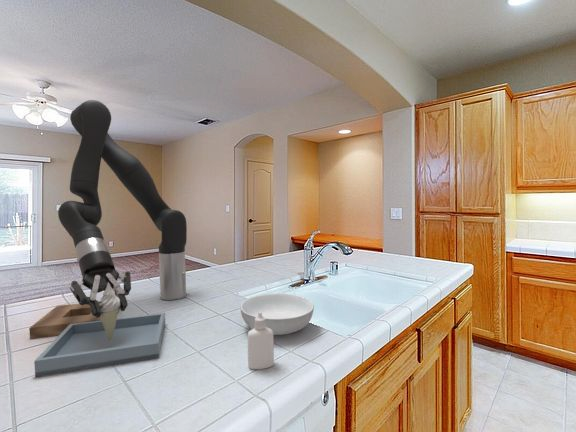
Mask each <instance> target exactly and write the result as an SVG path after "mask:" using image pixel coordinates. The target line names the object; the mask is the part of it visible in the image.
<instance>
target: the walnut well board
mask: <svg viewBox="0 0 576 432" xmlns="http://www.w3.org/2000/svg"><path fill="white" fill-rule="evenodd" d="M100 320H101V318H100V317H98V318H96V316H93V315H92V312H91V308H90V306H89V305H88V304H84V305H80V304H79V303H72V304H61V305H56V306H55V307H54V308H53V309H51V310H50V311H48V313H46V314H45V315H44V316H42V317H41V318H40V319H39V320H38V321H36V322H35V323H33V325H31V326H30V327H29V339H30V340H32V339H40V338H47V337H55V336H56V337H58V336H59V335H60V334H61V333H62V332H63V331H64V330H65V329H66V328H67V327H68V326H69V325H70V324H74V323H83V322H91V321H100Z"/></svg>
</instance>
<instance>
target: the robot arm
mask: <svg viewBox="0 0 576 432" xmlns="http://www.w3.org/2000/svg"><path fill="white" fill-rule="evenodd" d="M69 118H70V123H71V125H72V126H73V129H75V131H76V132H77V133H78V134H79V135H80V136H81V140H80V143H79V148H78V150H77V153H76V155H75V157H74V160H73V164H72V167H71V172H70V174H71V175H70V180H69V191H70V192H71V193H72V194H73V195H75V196H77V197H79V198H81V200H82V201H83V202H81V201H76V200H66V201H63V203H62V204H61V205H60V206H59V209H58V212H57V214H58V220H59V222H60V224H61V226H62V227H63V228H64V229H65V231H66V232H67V234H68V235H69V236H70V238H71V239H72V241H73V244H74V248H75V255H76V256H75V257H76V261H77V263H78V266H79V269H80V272H81V276H82V279H81V280H78V281H77V280H72V281H71V282H70V283H71V284H70V287H69V290H70V291H71V293H72V294H73V296H74V298H75V300H76V301H77V303H78V304H80V305H84V304H88V305H89V306H90V308H91V312H92V315H93V316H96V318H98V317H100V316H101V310H100V307H99V303H98V302H99V301H98V299H97V294H98V293H101V292H102V293H103V292H104V291H105V289H106V287H107V284H108V282H109V284H110V286H111V288H112V289H113V290H114V292H115V296H117V297H118V298H119V299H120V309H119V310H120V312H125V310H126V309H127V307H128V300H127V297H126V296H128V295H130V292H131V290H132V282H131V272H130V271H125V273H119V272H118V271H117V270H116V268H115V264H114V262H113V258H112V256H111V253H110V249H109V247H108V245H107V244H106V242H105V239H104V235H103V233H102V230H101V228H100V227H99V226H98V225H99V223H100V222H101V220H102V217H103V212H102V207H101V201H100V196H99V192H98V191H99V190H98V189H99V179H100V169H101V163H102V160H103V161H104V162H105V163H106V165H107V166H108V167H109V169H110V170H111V171H112V172H113V173H114V175H115V176H116V177H117V179H118V180H119V181H120V182H121V184H122V185H123V186H124V187H125V188H126V190H127V191H128V192H129V193H130V194H131V195H132V196H133V198H135V200H136V201H137V202H138V203H139V204H140V205H141V206H142V207H143V208H144V210H145V212H146V213H147V214H148V216H149V218H150V220H151V221H152V222H153V225H154V226H155V228H156V229H157V230H158V231H160V232H161V243H160V244H159V245H158V258H159V259H158V262H159V263H158V264H159V265H158V266H159V291H160V292H159V294H160V300H163V301H174V300H179V299H180V300H181V299H182V298H186V297H187V276H186V274H187V273H186V271H187V270H186V249H185V248H186V245H187V239H188V238H187V234H188V233H187V231H188V230H187V228H188V227H187V226H188V224H187V219H186V215H185V214H184V213H183V212H181V211H180V210H177V209H172V208H171V207H170V206H169V205H168V204H167V203H166V201H165V200H164V199H163V198H162V197H161V195H160V193H159V191H158V189H157V187H156V186H157V185H156V184H155V181H154V179H153V177H152V175H151V174H150V172H149V171H148V170H147V168H146V167H145V166H144V164H143V163H142V162H141V160H139V159H138V157H136V156H134V155H133V154H132V153H130V152H129V151H127V150H126V149H125V148H123V147H121V146H120V145H119V144H117V143H116V141H115V140H114V139H113V138H112V137H111V135H110V133H108V132H109V130H110V126H111V123H112V114H111V110H109V108H108V107H107V106H106V104H104V103H103V102H101V101H99V100H96V99H95V100H94V99H89V100H85V101H84V102H81V104H79V105H77V107H76V108H74V109H73V110H72V112H71V113H70V117H69ZM118 280H120V281H121V282H122V283H123V288H122V287H121V284H120V282H118ZM83 286H84V287H86V288H87V289H89V290H90V293H89V296H87V294H86V293H85V292H84V291H83Z"/></svg>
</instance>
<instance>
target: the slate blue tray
mask: <svg viewBox="0 0 576 432" xmlns="http://www.w3.org/2000/svg"><path fill="white" fill-rule="evenodd" d="M165 327H166V313H165V312H162V313H161V312H160V313H152V314H145V315H144V314H143V315H136V316H135V315H134V316H126V317H120V318H119V317H117V320H116V325H115V328H114V332H113V336H112V340H110V341H109V338H108V336H107V333H106V331H105V328H104V326H103V323H102V321H101V320H100V321H91V322H83V323H74V324H70V325H69V326H68V327H67V328H66V329H65V330H64V331H63V332H62V333H61V334H60V335H57V336H56V338H55V339H54V340H53V341H52V342H51V343H50V344H49V345H48V346H47V348H45V350H43V352H41V353H40V354H39V356H38V357H36V359H35V360H34V362H33V363H34V376H35V377H34V378H38V377H39V378H40V377H45V376H52V375H57V374H64V373H70V372H71V373H72V372H76V371H83V370H89V369H95V368H104V367H108V366H116V365H121V364H127V363H133V362H139V361H140V362H141V361H148V360H152V359H159V358H160V354H161V347H162V343H163V340H164V339H163V338H164V333H165Z"/></svg>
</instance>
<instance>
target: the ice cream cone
mask: <svg viewBox="0 0 576 432" xmlns="http://www.w3.org/2000/svg"><path fill="white" fill-rule="evenodd" d="M98 303H99V307H100V310H101V316H100V318H101V321H102V323H103V326H104V328H105V331H106V333H107V336H108V338H109V341H110V340H112V336H113V332H114V328H115V325H116V320H117V318H119V312H120V310H121V309H120V299H119V298H118V297H117V296H115V292H114V290H113V289H112V288H111V286H110V284H109V282H108V284H107V287H106V289H105V291H102V297H101V298H100V300H99V301H98Z"/></svg>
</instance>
